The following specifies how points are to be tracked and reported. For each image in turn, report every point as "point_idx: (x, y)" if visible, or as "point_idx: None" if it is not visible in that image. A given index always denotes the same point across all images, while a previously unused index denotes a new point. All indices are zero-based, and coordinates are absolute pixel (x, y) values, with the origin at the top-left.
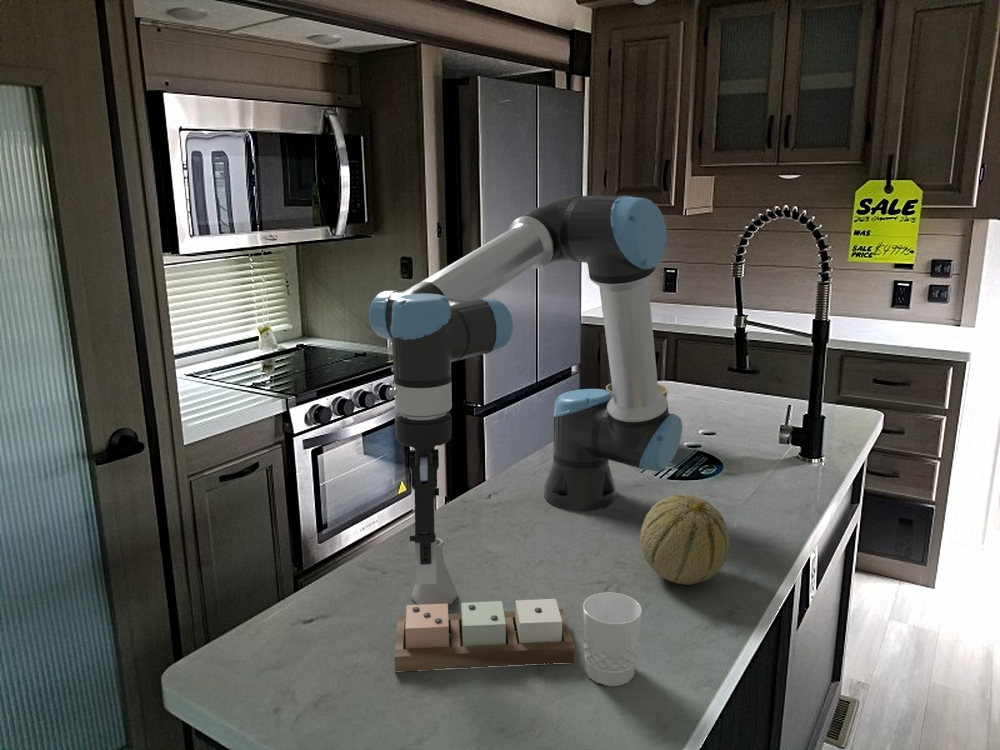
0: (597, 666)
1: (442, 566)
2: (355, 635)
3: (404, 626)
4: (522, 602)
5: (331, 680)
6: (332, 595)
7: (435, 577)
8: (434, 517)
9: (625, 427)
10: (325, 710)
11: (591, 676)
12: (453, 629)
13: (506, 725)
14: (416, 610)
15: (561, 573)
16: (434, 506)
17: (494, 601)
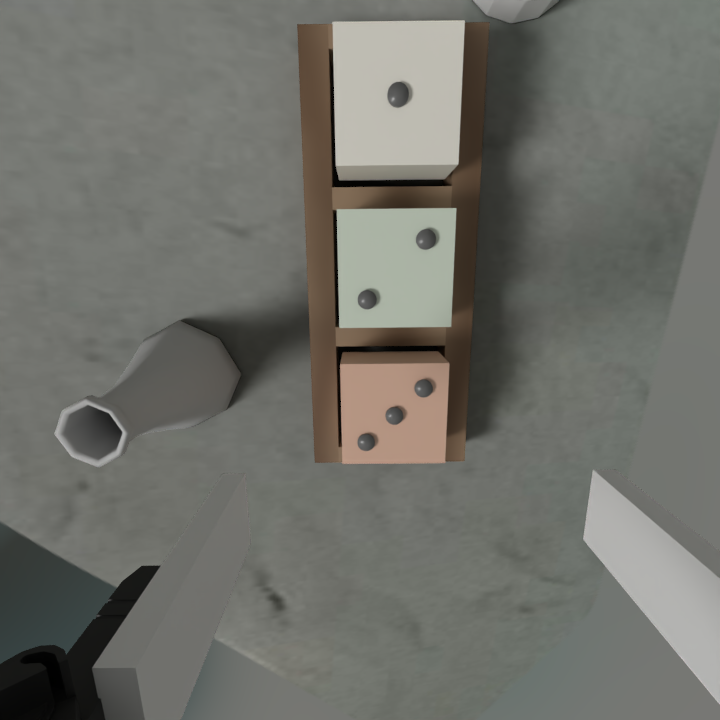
0: None
1: (150, 379)
2: (328, 520)
3: None
4: (347, 143)
5: (462, 544)
6: None
7: (633, 487)
8: (200, 555)
9: None
10: (539, 544)
11: (549, 7)
12: (377, 340)
13: (645, 238)
14: (373, 441)
15: (37, 6)
16: (167, 617)
17: (338, 232)
